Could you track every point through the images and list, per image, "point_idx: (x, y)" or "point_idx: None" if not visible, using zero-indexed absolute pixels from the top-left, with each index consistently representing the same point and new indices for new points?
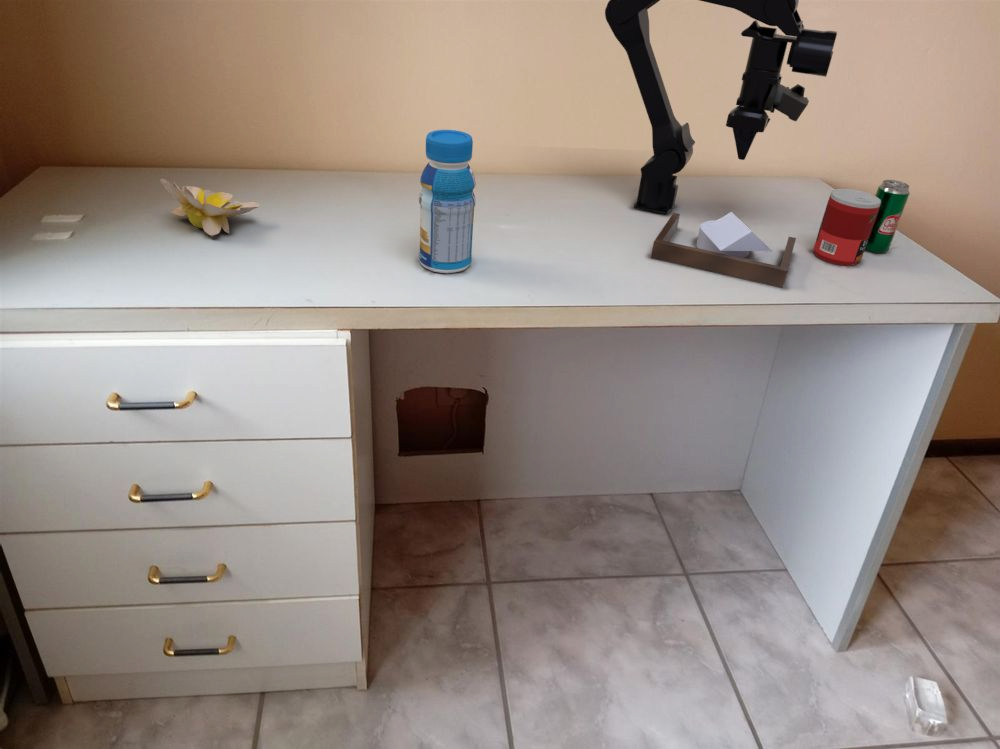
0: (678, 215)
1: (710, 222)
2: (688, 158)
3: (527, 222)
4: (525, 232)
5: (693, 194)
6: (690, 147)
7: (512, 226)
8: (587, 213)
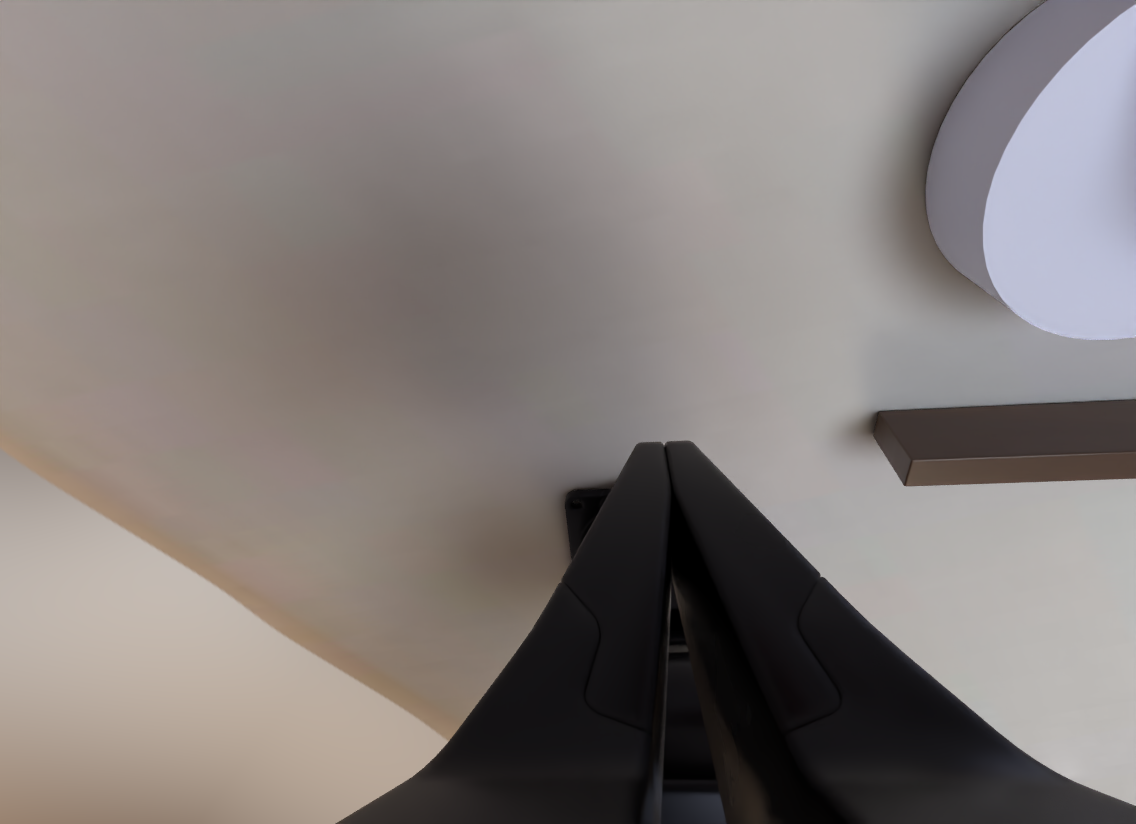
0: (942, 461)
1: (1045, 301)
2: (691, 705)
3: None
4: (1097, 736)
5: (351, 454)
6: (716, 792)
7: (1054, 763)
8: None
